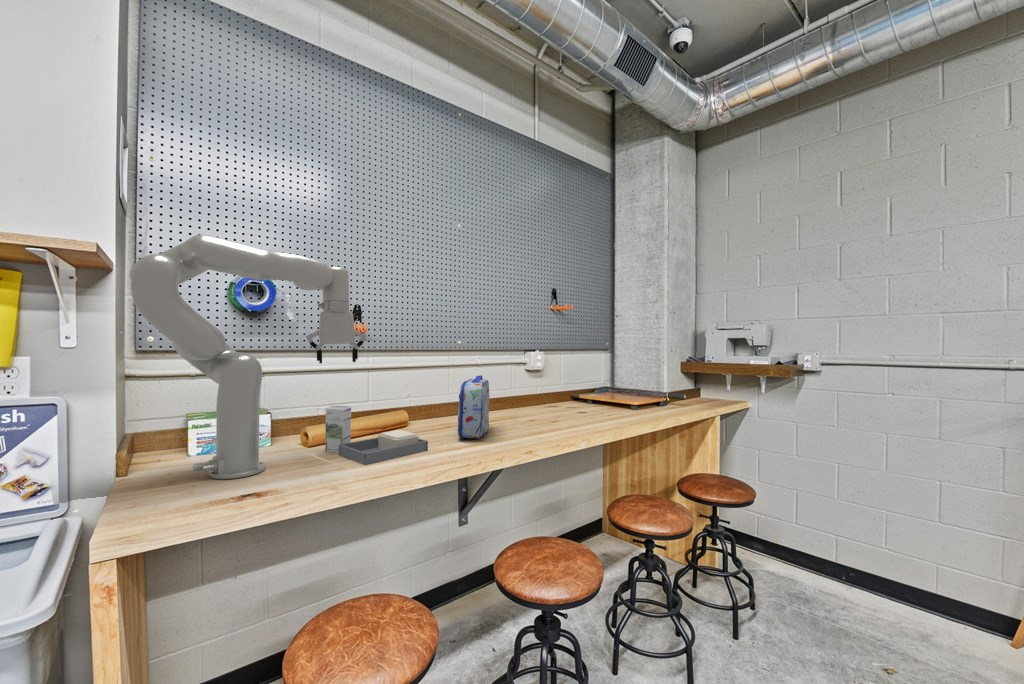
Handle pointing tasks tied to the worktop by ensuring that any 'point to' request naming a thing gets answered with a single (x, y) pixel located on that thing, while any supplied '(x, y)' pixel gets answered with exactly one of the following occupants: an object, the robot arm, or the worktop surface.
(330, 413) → the syrup box
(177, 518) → the worktop surface
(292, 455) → the worktop surface
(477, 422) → the lunch box
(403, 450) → the tray
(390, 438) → the white lidded box
